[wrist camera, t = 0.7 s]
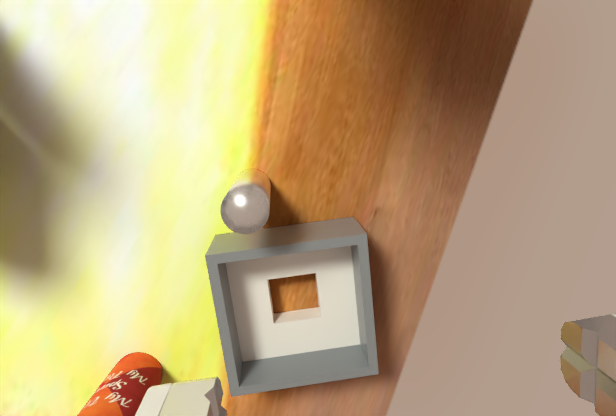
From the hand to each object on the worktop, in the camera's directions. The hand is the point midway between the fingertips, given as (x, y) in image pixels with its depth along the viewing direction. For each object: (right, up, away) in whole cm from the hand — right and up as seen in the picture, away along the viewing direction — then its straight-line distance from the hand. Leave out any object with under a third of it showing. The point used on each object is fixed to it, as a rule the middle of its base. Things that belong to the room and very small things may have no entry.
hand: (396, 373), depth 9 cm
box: (-4, -6, +39) cm, 39 cm away
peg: (-8, +6, +35) cm, 37 cm away
